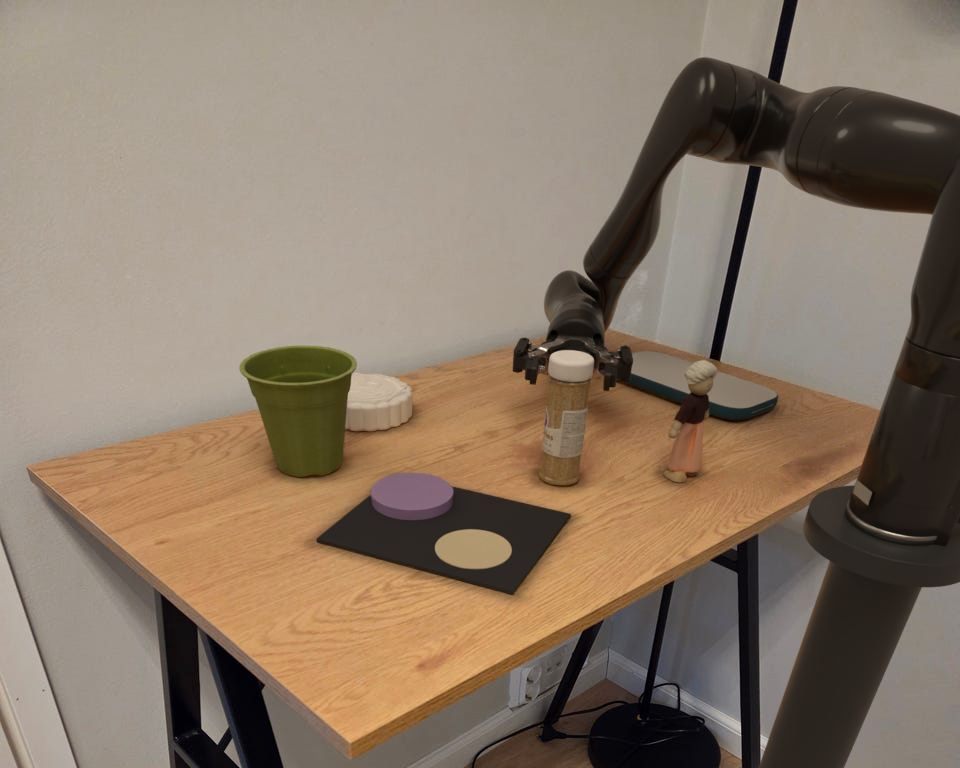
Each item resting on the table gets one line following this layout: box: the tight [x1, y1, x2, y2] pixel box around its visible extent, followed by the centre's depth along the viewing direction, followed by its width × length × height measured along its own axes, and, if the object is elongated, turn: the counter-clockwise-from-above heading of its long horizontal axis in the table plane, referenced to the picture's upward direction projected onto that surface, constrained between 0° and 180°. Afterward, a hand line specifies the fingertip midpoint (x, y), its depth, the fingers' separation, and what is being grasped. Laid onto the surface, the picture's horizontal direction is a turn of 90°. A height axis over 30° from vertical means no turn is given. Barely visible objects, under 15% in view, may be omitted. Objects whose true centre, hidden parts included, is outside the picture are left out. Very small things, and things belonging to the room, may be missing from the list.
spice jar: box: [538, 350, 594, 486], centre depth 86 cm, size 5×5×14 cm
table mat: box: [315, 485, 572, 596], centre depth 80 cm, size 20×16×1 cm
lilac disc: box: [370, 472, 454, 520], centre depth 83 cm, size 8×8×1 cm
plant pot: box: [239, 345, 358, 478], centre depth 87 cm, size 12×12×11 cm
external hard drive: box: [616, 350, 779, 421], centre depth 113 cm, size 24×12×2 cm, turn 41°
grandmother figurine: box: [663, 359, 718, 484], centre depth 89 cm, size 8×4×13 cm, turn 151°
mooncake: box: [345, 372, 413, 433], centre depth 102 cm, size 12×12×4 cm
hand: (570, 379), depth 94 cm, fingers open, 8 cm apart
